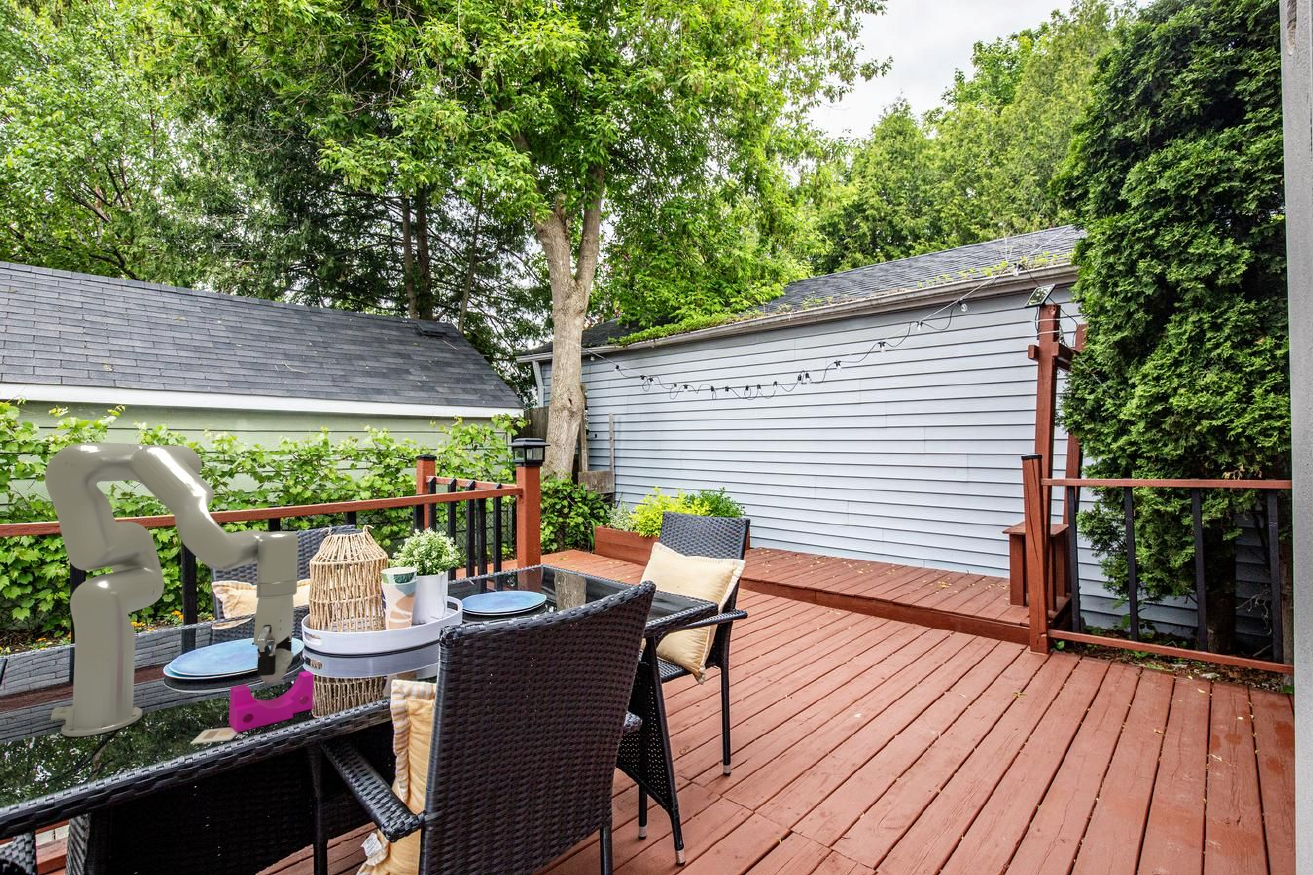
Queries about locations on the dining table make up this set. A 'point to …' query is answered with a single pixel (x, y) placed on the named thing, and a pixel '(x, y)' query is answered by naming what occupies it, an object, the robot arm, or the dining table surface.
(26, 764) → the dining table surface
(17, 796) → the dining table surface
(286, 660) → the frog figurine
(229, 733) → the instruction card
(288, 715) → the toy block
